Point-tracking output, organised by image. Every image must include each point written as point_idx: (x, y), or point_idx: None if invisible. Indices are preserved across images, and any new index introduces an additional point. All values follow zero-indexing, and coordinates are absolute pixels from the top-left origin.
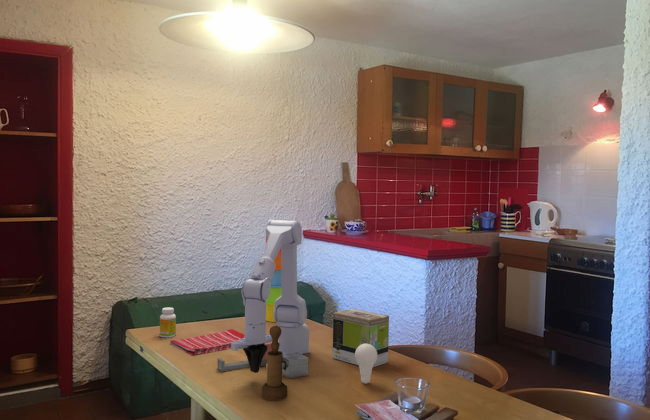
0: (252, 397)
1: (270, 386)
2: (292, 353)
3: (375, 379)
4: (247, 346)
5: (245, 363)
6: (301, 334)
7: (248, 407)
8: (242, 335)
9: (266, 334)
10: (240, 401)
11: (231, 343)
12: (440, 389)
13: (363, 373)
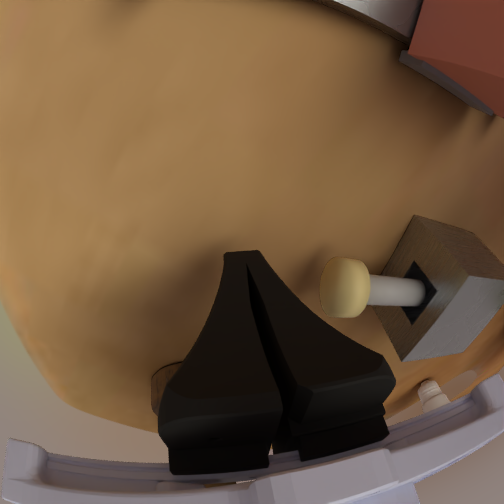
0: (122, 366)
1: None
2: (500, 286)
3: (453, 368)
4: (174, 475)
5: (363, 6)
6: None
7: (89, 395)
8: None
9: (482, 444)
10: (76, 367)
11: (6, 492)
12: None
13: (423, 409)
